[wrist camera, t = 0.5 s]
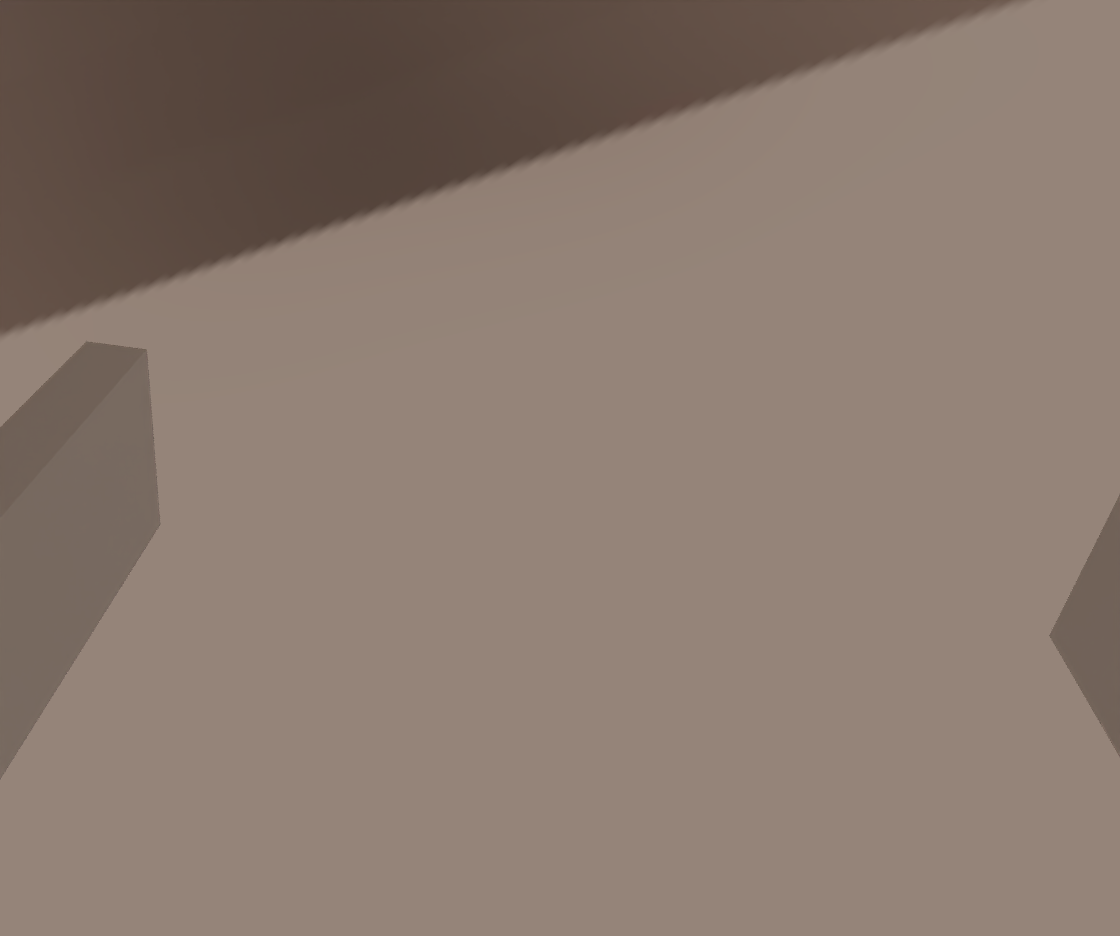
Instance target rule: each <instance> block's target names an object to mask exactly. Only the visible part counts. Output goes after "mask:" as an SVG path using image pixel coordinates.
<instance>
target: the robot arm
mask: <svg viewBox="0 0 1120 936" xmlns="http://www.w3.org/2000/svg"><path fill="white" fill-rule="evenodd" d="M159 526H160V515H159V503H158V490H157V476H156V463H155V450H154V437H153V424H152V411H151V398H150V385H149V372H148V359H147V350H146V349H138V348H131V347H123V346H116V345H108V344H101V343H93V342H86V343H85V344H84V345H83V346H82V347H81V348H80V349H79V350H78V351H77V352H76V353H75V354H74V355H73V356H72V357H71V358H70V359H69V360H68V361H67V362H66V363H65V364H64V365H63V366H62V367H61V368H60V369H59V370H58V371H57V372H56V373H55V374H54V375H53V376H52V377H51V378H49V380H48V381H46V383H44V384H43V386H41V387H40V388H39V390H38V391H36V392H35V393H34V394H33V396H31V397H30V399H28V401H26V403H24V405H22V406H21V407H20V408H19V410H17V411H16V412H15V413H14V414H13V415H12V416H11V417H10V418H9V419H8V420H7V421H6V422H5V423H4V424H3V426H1V427H0V779H1V777H2V776H3V774H4V772H5V771H6V769H7V768H8V766H9V765H10V763H11V761H12V760H13V758H14V757H15V755H16V753H17V752H18V750H19V749H20V747H21V746H22V744H23V742H24V741H25V739H26V738H27V736H28V734H29V733H30V731H31V730H32V728H33V726H34V725H35V723H36V722H37V720H38V718H39V717H40V715H41V714H42V712H43V710H44V709H45V707H46V706H47V704H48V702H49V701H50V699H51V697H52V696H53V695H54V693H55V691H56V690H57V688H58V687H59V685H60V683H61V682H62V680H63V679H64V677H65V675H66V674H67V672H68V671H69V669H70V667H71V666H72V664H73V663H74V661H75V659H76V658H77V656H78V655H79V653H80V652H81V650H82V648H83V647H84V645H85V643H86V642H87V640H88V639H89V637H90V636H91V634H92V632H93V631H94V629H95V627H96V626H97V624H98V623H99V621H100V620H101V618H102V616H103V614H104V613H105V612H106V610H107V609H108V607H109V605H110V604H111V602H112V601H113V599H114V597H115V596H116V594H117V593H118V591H119V589H120V588H121V586H122V585H123V583H124V581H125V580H126V578H127V577H128V575H129V573H130V572H131V570H132V568H133V567H134V566H135V564H136V562H137V561H138V559H139V558H140V556H141V554H142V553H143V551H144V550H145V548H146V546H147V545H148V543H149V541H150V540H151V538H152V537H153V535H154V534H155V532H156V530H157V529H158V527H159ZM1050 638H1051V639H1052V641H1053V643H1054V644H1055V646H1056V648H1057V650H1058V651H1059V653H1060V655H1061V656H1062V658H1063V660H1064V662H1065V663H1066V665H1067V667H1068V668H1069V670H1070V672H1071V674H1072V675H1073V677H1074V679H1075V681H1076V682H1077V684H1078V686H1079V687H1080V689H1081V691H1082V693H1083V694H1084V696H1085V698H1086V699H1087V701H1088V703H1089V705H1090V706H1091V708H1092V710H1093V712H1094V713H1095V715H1096V717H1097V718H1098V720H1099V721H1100V724H1101V725H1102V727H1103V729H1104V731H1105V732H1106V734H1107V736H1108V737H1109V739H1110V741H1111V743H1112V744H1113V746H1114V748H1115V749H1116V751H1117V753H1118V755H1119V756H1120V495H1119V497H1118V499H1117V501H1116V503H1115V505H1114V507H1113V509H1112V511H1111V513H1110V515H1109V517H1108V519H1107V521H1106V523H1105V525H1104V527H1103V529H1102V532H1101V533H1100V535H1099V538H1098V539H1097V542H1096V543H1095V545H1094V547H1093V549H1092V552H1091V553H1090V556H1089V557H1088V559H1087V561H1086V563H1085V565H1084V567H1083V569H1082V571H1081V573H1080V575H1079V577H1078V579H1077V581H1076V584H1075V585H1074V587H1073V589H1072V591H1071V593H1070V595H1069V597H1068V599H1067V601H1066V603H1065V605H1064V607H1063V609H1062V611H1061V613H1060V616H1059V617H1058V620H1057V621H1056V623H1055V625H1054V627H1053V629H1052V631H1051V633H1050Z"/></svg>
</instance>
